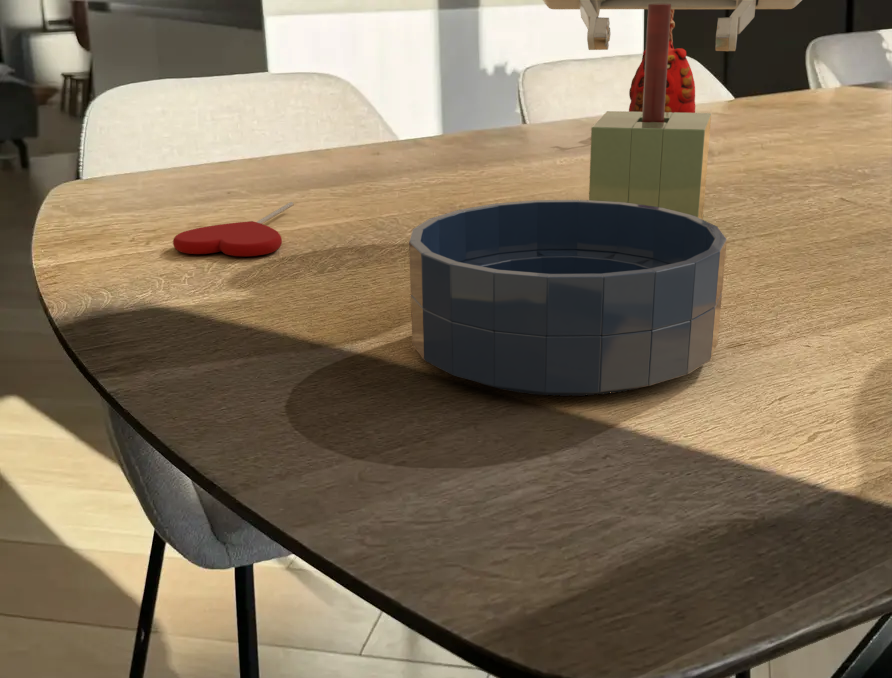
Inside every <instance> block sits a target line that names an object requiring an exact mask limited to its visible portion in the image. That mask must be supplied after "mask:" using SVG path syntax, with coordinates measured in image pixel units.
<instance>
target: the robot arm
mask: <svg viewBox="0 0 892 678" xmlns="http://www.w3.org/2000/svg"><path fill="white" fill-rule="evenodd" d="M802 1H803V0H542V2H543V3H544V4H545V6H546V7H547V8H548V9H549V10H579V12H580V13H579V14H580V19H581V20H582V22H583V24H584V25H585V28H587V33H586V34H587V35H586V41H587V48H588V49H587V50H589V51H603V50H604V51H608V50H609V46H610V44H609V42H610V40H611V27H610V26H611V25H610V17H600V11H601V10H648V4H654V3H668V4H671V9H674V10H733V12H732V13H731V15H730V16H729V17H717V24H716V25H717V26H716V33H715V49H714V50H715V51H716V52H736V49H737V41H738V35H740V34H741V33H742V32H743V31H744V30H745V28H746V27H747V26H748V25H749V24H750V23H751V22H752V20H753V19H754V18H755V17H756V16H755V13H756V10H792V9H794V8H795V7H797V6H798V5H799V4H800V3H801V2H802Z"/></svg>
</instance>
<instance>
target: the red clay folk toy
mask: <svg viewBox="0 0 892 678" xmlns="http://www.w3.org/2000/svg"><path fill="white" fill-rule="evenodd" d="M674 15H675V9H671V14H670V31H669V47H668V64H667V80H666V97H665V112H672V113H674V112H677V113H696V84H695V79H694V75H693V74H694V73H693V71H692V68H691V66H690V63H689V61H688V59H687V50H685V49H684V48H683V47H681V48H675V47H674V41H673V40H674V39H673V30H674V29H675V28H676V23H675V21H674ZM645 57H646V49H645V50H643V52H642V57H641V62H640V64H639V65H638V66H637V69H636V71H635V73H634V76H633V78H632V79H631V83H630V88H629V92H628V95H629V99H630V103H629V107H628V112H643V95H644V76H645Z"/></svg>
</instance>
